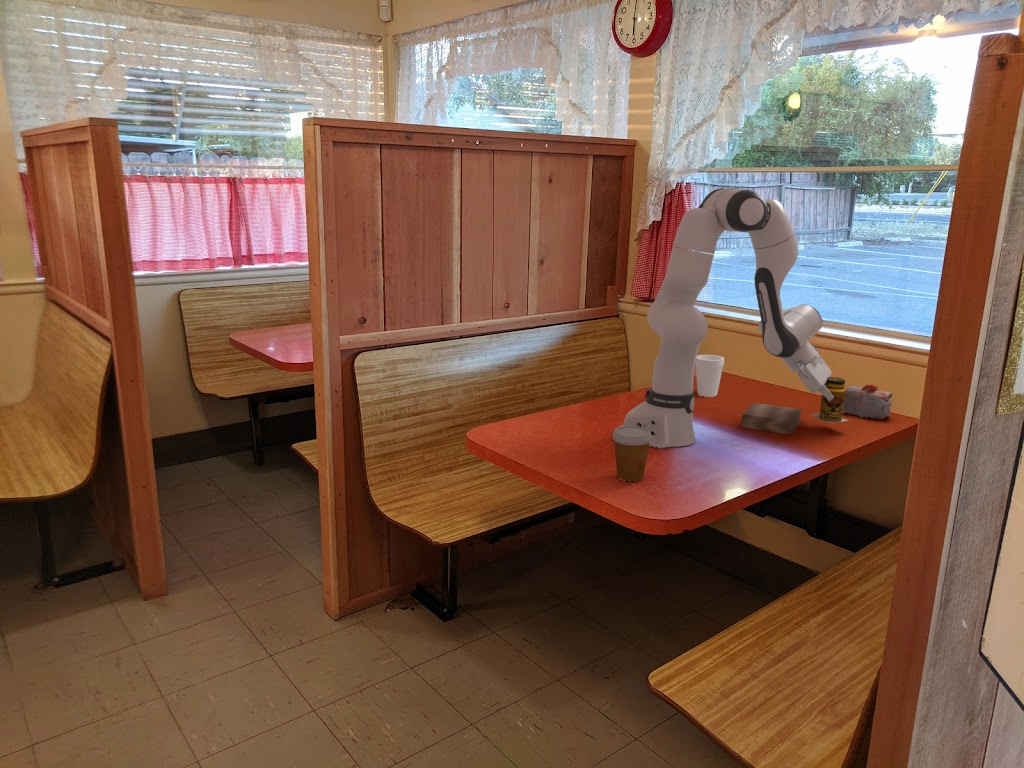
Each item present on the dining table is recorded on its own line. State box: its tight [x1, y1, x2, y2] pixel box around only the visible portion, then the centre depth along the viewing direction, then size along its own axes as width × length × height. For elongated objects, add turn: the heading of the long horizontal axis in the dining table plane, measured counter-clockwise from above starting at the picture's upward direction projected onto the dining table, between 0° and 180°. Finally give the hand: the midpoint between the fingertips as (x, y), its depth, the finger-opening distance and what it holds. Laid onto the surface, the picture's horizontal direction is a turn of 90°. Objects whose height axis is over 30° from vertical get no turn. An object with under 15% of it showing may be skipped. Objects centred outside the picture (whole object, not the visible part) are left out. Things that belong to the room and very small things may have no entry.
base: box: [741, 402, 802, 436], centre depth 224 cm, size 14×14×4 cm
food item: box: [842, 384, 894, 420], centre depth 232 cm, size 14×8×10 cm, turn 51°
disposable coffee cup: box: [611, 425, 652, 483], centre depth 182 cm, size 10×10×12 cm
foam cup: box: [695, 354, 725, 398], centre depth 255 cm, size 10×9×13 cm
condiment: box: [808, 376, 849, 424], centre depth 216 cm, size 7×8×12 cm
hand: (833, 396), depth 215 cm, fingers closed on condiment, 6 cm apart
